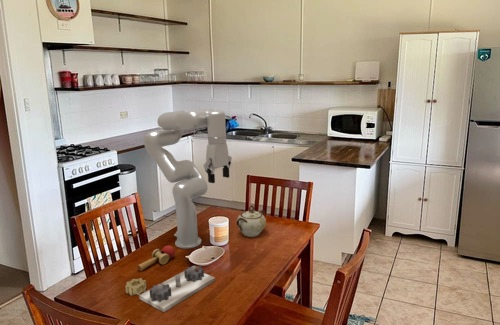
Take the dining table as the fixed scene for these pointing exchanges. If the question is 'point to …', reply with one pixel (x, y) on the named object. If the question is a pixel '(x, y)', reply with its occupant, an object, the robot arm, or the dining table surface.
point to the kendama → (158, 257)
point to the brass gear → (136, 286)
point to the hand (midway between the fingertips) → (219, 179)
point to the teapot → (251, 222)
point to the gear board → (177, 288)
